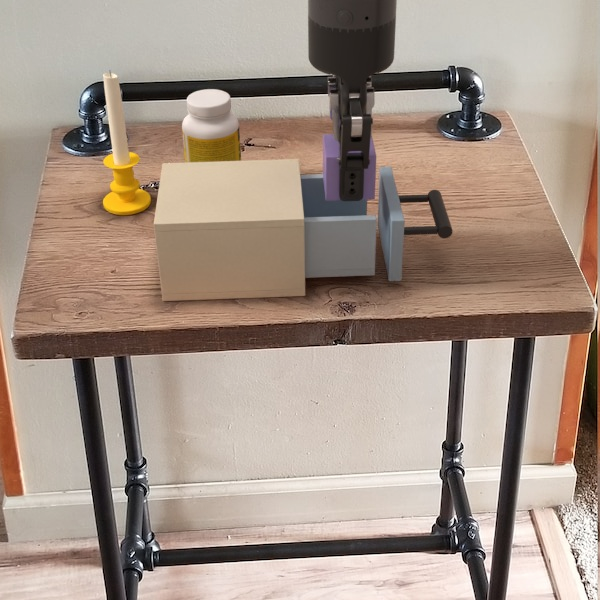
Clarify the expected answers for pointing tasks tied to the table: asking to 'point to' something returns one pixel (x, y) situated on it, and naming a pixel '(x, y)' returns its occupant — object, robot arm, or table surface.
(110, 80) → the candle
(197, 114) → the pill bottle
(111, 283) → the table surface
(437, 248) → the table surface
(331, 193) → the block
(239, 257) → the drawer cabinet
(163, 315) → the table surface
